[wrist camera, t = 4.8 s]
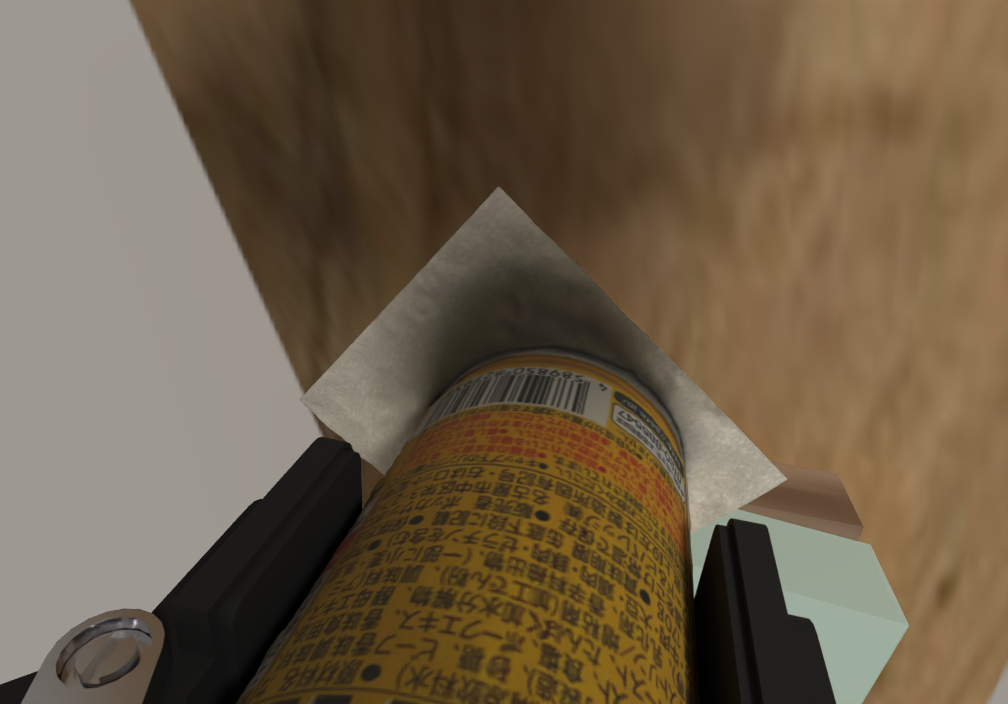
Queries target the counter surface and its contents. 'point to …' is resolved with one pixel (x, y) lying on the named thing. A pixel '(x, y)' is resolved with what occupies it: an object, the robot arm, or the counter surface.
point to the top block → (829, 598)
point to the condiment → (513, 494)
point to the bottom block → (809, 502)
